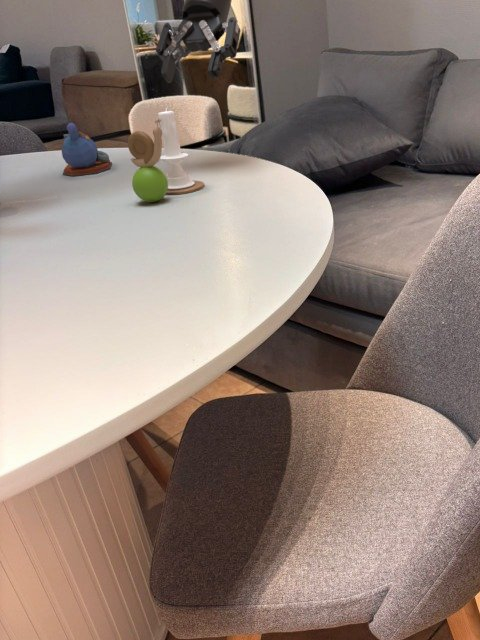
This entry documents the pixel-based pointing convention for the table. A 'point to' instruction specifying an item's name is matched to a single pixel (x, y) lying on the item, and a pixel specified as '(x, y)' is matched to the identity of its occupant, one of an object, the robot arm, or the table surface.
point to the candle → (173, 152)
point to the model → (82, 154)
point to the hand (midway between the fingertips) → (189, 78)
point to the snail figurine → (148, 165)
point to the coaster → (186, 189)
